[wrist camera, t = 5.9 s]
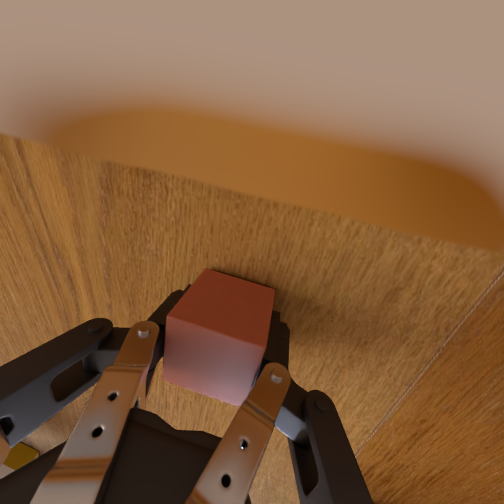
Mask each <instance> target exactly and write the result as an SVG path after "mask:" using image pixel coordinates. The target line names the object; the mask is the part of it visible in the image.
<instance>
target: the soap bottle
mask: <svg viewBox="0 0 504 504" xmlns="http://www.w3.org/2000/svg"><path fill="white" fill-rule="evenodd" d="M38 453H39V452H38V451H36V450H34V449H32V448H30V447H28V446H26V445H24V444H22V443H20V442H19V443H17V444H16V445H15V446H13V447H12V448H11V449H10V452H9V454H8V456H7V458H6V460H5V461H4V463H3V464H2V465H1V467H0V479H1V478H3V477H5V476H6V475H8V474H10V473H12V472H13V471H15V470H17V469H19V468H20V467H22V466H24V465H25V464H27V463H29V462H31V461H32V460H34V459H36V458H38Z"/></svg>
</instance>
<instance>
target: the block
mask: <svg viewBox="0 0 504 504" xmlns="http://www.w3.org/2000/svg"><path fill="white" fill-rule="evenodd" d="M274 296H275V289H272V288H269V287H266V286H262V285H259V284H256V283H252V282H249V281H246V280H243V279H239V278H236V277H233V276H229V275H226V274H223V273H220V272H216V271H213V270H210V269H207V268H205V269H204V271H203V272H202V273H201V274H200V276H199V277H198V278H197V279H196V281H195V282H194V283H193V284H192V285H191V287H190V288H189V289H188V290H187V292H186V293H185V294H184V295H183V297H182V298H181V299H180V300H179V301H178V303H177V304H176V305H175V306H174V308H173V309H172V310H171V311H170V312H169V314H168V315H167V319H166V332H165V345H164V359H163V372H162V380H164V381H166V382H169V383H172V384H175V385H178V386H181V387H184V388H186V389H189V390H192V391H195V392H198V393H201V394H204V395H206V396H209V397H212V398H215V399H218V400H221V401H224V402H226V403H229V404H232V405H235V406H238V407H240V406H241V405H242V403H243V401H244V400H246V399H247V397H248V395H249V393H250V391H251V388H252V385H253V382H254V380H255V377H256V374H257V372H258V369H259V366H260V364H261V361H262V358H263V355H264V353H265V350H266V346H267V340H268V334H269V327H270V321H271V315H272V309H273V302H274Z"/></svg>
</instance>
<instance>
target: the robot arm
mask: <svg viewBox="0 0 504 504" xmlns="http://www.w3.org/2000/svg"><path fill="white" fill-rule="evenodd" d="M190 287H191V284H189V285H188V286H187V288H186V289H185V290H184V291H182V290H177V291H175V292H173V293H171V294H170V295H169V296H168V298H167V299H166V300H165V301H164V302H163V303H162V304H161V305H160V306H159V307H158V309H157V310H156V311H155V312H154V313H153V314H152V315H151V316H150V317H149V318H148V320H147V321H141V322H138V323H136V324H135V325H133V326H132V327H131V328H119V327H113V324H112V322H111V321H110V320H108V319H106V318H95V319H92V320H89V321H87V322H85V323H83V324H81V325H79V326H77V327H75V328H73V329H71V330H69V331H68V332H66V333H64V334H62V335H60V336H58V337H56V338H54V339H52V340H50V341H48V342H47V343H45V344H43V345H41V346H39V347H37V348H35V349H33V350H31V351H29V352H27V353H26V354H24V355H22V356H20V357H18V358H16V359H14V360H12V361H10V362H8V363H6V364H5V365H3V366H1V367H0V467H1V465H2V464H3V463H4V461H5V460H6V458H7V456H8V454H9V452H10V449H11V448H12V447H13V446H15V445H16V444H17V443H19V442H20V441H21V440H22V439H24V438H25V437H26V436H28V435H29V434H30V433H32V432H33V431H34V430H35V429H37V428H38V427H39V426H41V425H42V424H43V423H45V422H46V421H47V420H49V419H50V418H51V417H52V416H54V415H55V414H56V413H58V412H59V411H60V410H62V409H63V408H64V407H65V406H67V405H68V404H69V403H71V402H72V401H73V400H75V399H76V398H77V397H78V396H80V395H81V394H82V393H84V392H85V391H86V390H88V389H89V388H90V387H91V386H93V385H94V384H95V383H97V382H98V383H97V385H96V386H95V388H94V390H93V392H92V394H91V396H90V398H89V400H88V402H87V404H86V406H85V408H84V410H83V411H82V413H81V415H80V417H79V419H78V421H77V423H76V425H75V427H74V429H73V431H72V433H71V435H70V436H69V438H68V440H67V441H65V442H64V443H62V444H60V445H58V446H57V447H55V448H53V449H51V450H50V451H48V452H46V453H45V454H43V455H41V456H39V457H38V458H36V459H34V460H32V461H31V462H29V463H27V464H25V465H24V466H22V467H20V468H19V469H17V470H15V471H13V472H12V473H10V474H8V475H6V476H5V477H3V478H1V479H0V504H251V500H250V497H249V494H248V493H249V490H250V488H251V485H252V483H253V480H254V478H255V475H256V472H257V470H258V467H259V465H260V462H261V460H262V457H263V454H264V452H265V449H266V447H267V444H268V442H269V439H270V437H271V434H272V431H273V429H274V426H275V427H276V428H278V429H279V430H280V431H281V432H283V433H284V434H285V435H286V436H287V438H288V443H289V448H290V454H291V459H292V464H293V469H294V474H295V479H296V484H297V489H298V495H299V500H300V504H373V501H372V499H371V496H370V494H369V491H368V489H367V486H366V484H365V481H364V479H363V476H362V473H361V471H360V468H359V466H358V463H357V461H356V458H355V456H354V453H353V451H352V448H351V446H350V443H349V441H348V438H347V436H346V433H345V430H344V428H343V425H342V423H341V420H340V418H339V415H338V413H337V410H336V408H335V405H334V403H333V402H332V400H331V399H330V398H329V397H328V396H327V395H326V394H325V393H323V392H321V391H319V390H311V391H309V392H307V391H306V390H304V389H303V388H301V387H300V386H298V385H297V384H296V383H295V382H294V381H293V379H292V378H291V376H290V373H289V370H288V361H289V337H290V330H289V328H288V326H287V324H286V323H283V322H280V312H277V311H273V310H272V315H271V321H270V327H269V334H268V340H267V346H266V350H265V353H264V355H263V358H262V361H261V364H260V366H259V369H258V372H257V374H256V377H255V380H254V382H253V385H252V390H251V392H250V393H249V395H248V397H247V399H246V400H244V401H243V403H242V405H241V406H240V408H239V410H238V411H237V413H236V415H235V417H234V418H233V420H232V422H231V424H230V425H229V427H228V429H227V431H226V432H225V434H224V436H223V438H220V437H217V436H215V435H212V434H209V433H206V432H204V431H189V430H176V429H174V428H173V427H171V426H170V425H169V424H168V423H166V422H165V421H164V420H163V419H161V418H160V417H159V416H158V415H157V414H154V413H151V412H148V411H146V410H145V408H146V403H147V400H148V396H149V393H150V390H151V386H152V383H153V379H154V376H155V373H156V369H157V364H158V362H159V361H160V359H161V358H162V357H164V345H165V332H166V319H167V315H168V314H169V312H170V311H171V310H172V309H173V308H174V306H175V305H176V304H177V303H178V301H179V300H180V299H181V298H182V297H183V295H184V294H185V293H186V292H187V290H188V289H189V288H190Z"/></svg>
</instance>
